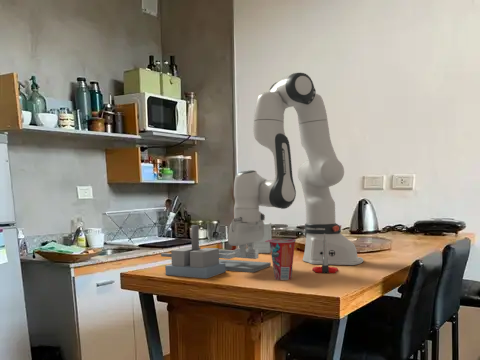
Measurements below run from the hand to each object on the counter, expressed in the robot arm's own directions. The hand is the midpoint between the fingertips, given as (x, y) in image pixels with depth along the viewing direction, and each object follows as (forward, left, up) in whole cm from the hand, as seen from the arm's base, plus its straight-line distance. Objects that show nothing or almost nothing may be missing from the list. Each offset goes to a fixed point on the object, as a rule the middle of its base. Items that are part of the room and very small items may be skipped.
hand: (246, 256), depth 167 cm
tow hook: (-26, -6, -5) cm, 27 cm away
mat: (+6, -1, -4) cm, 7 cm away
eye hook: (+5, 0, -1) cm, 5 cm away
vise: (+15, +15, -4) cm, 21 cm away
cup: (-18, +12, -5) cm, 22 cm away
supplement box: (+13, -39, -5) cm, 41 cm away
